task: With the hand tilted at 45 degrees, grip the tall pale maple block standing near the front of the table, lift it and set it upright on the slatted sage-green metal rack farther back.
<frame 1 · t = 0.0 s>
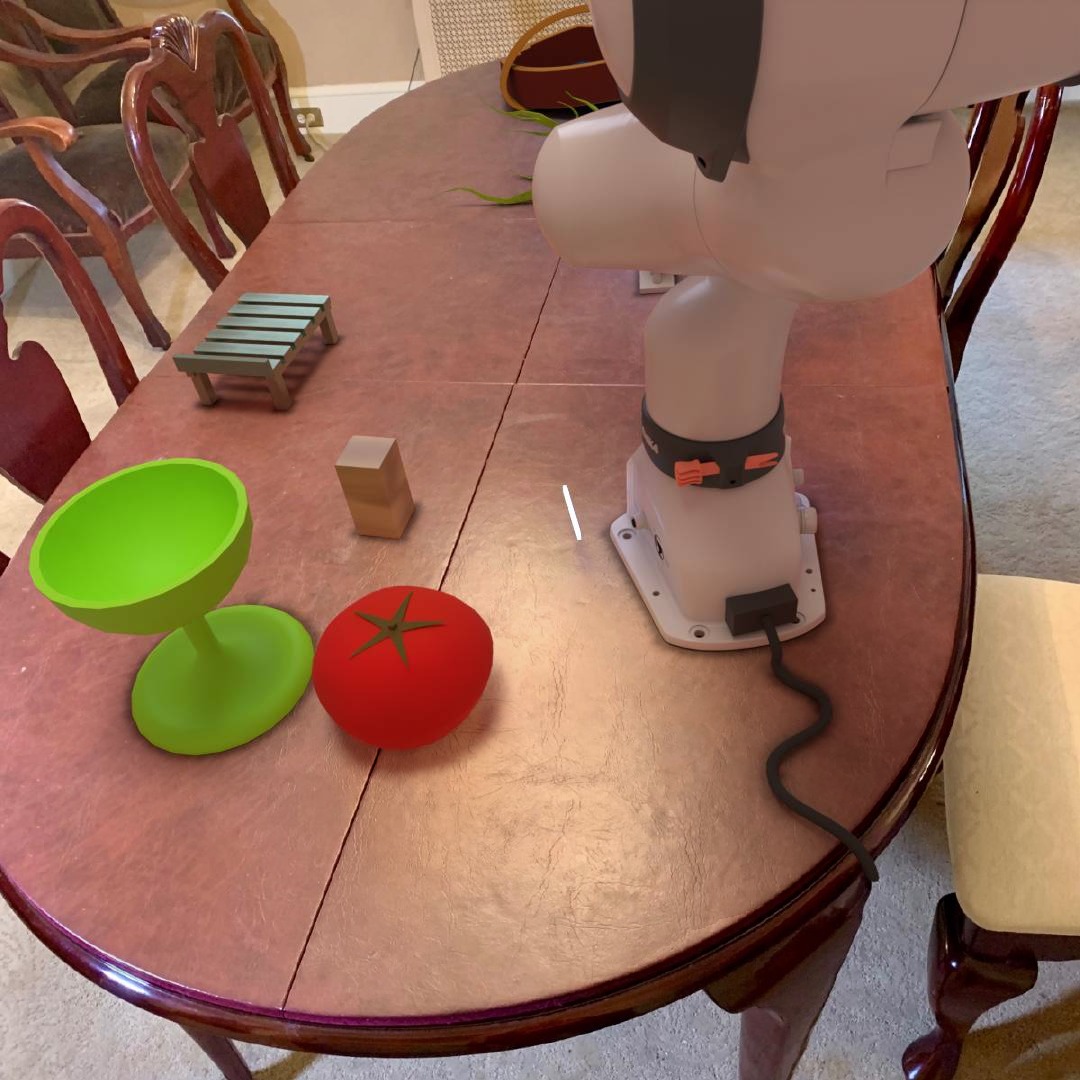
test tube rack: (655, 247, 128), on the table
decorative plant: (546, 199, 143), on the table
decorative basket: (594, 95, 171), on the table
rack: (273, 370, 116), on the table
wineglass: (224, 677, 82), on the table
block: (386, 521, 94), on the table
tomato: (417, 705, 77), on the table
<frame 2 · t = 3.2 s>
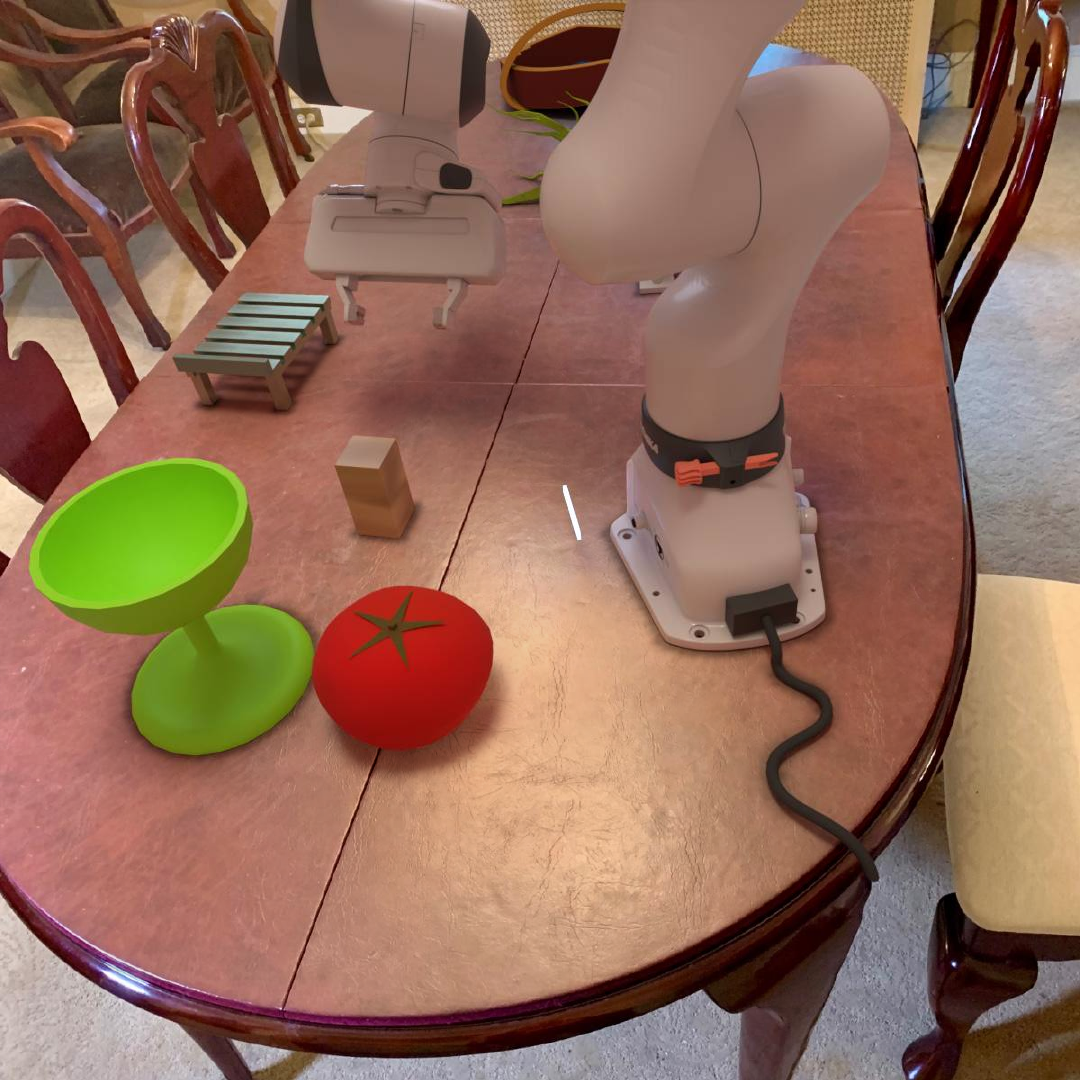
hand: (397, 326, 92), 15 cm above the table, tool tilted 45°, fingers open, 8 cm apart
nothing on the table moved.
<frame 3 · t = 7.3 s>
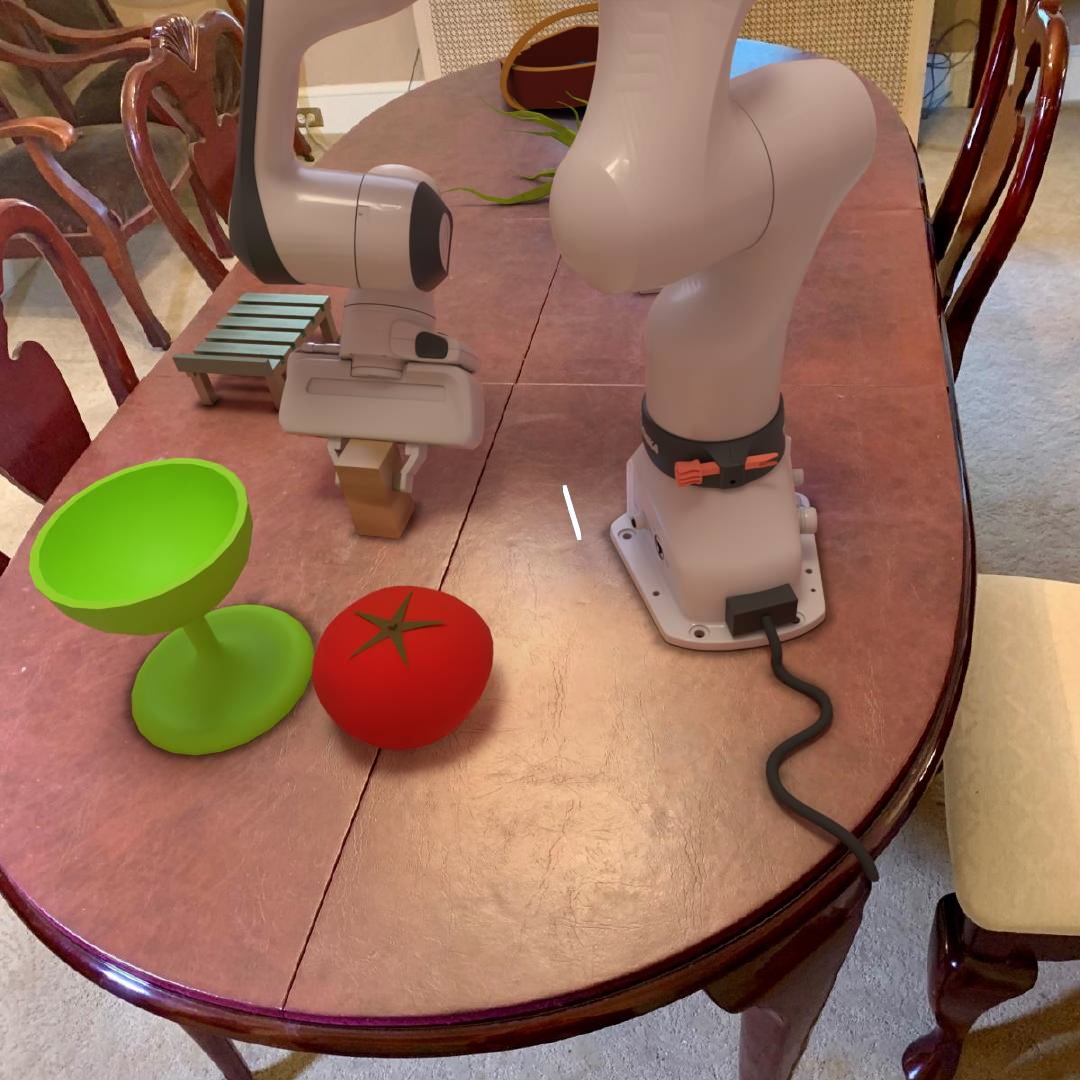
hand: (373, 489, 90), 5 cm above the table, tool tilted 45°, fingers closed on block, 4 cm apart
block: (386, 521, 94), on the table, touching gripper
everything else where it was.
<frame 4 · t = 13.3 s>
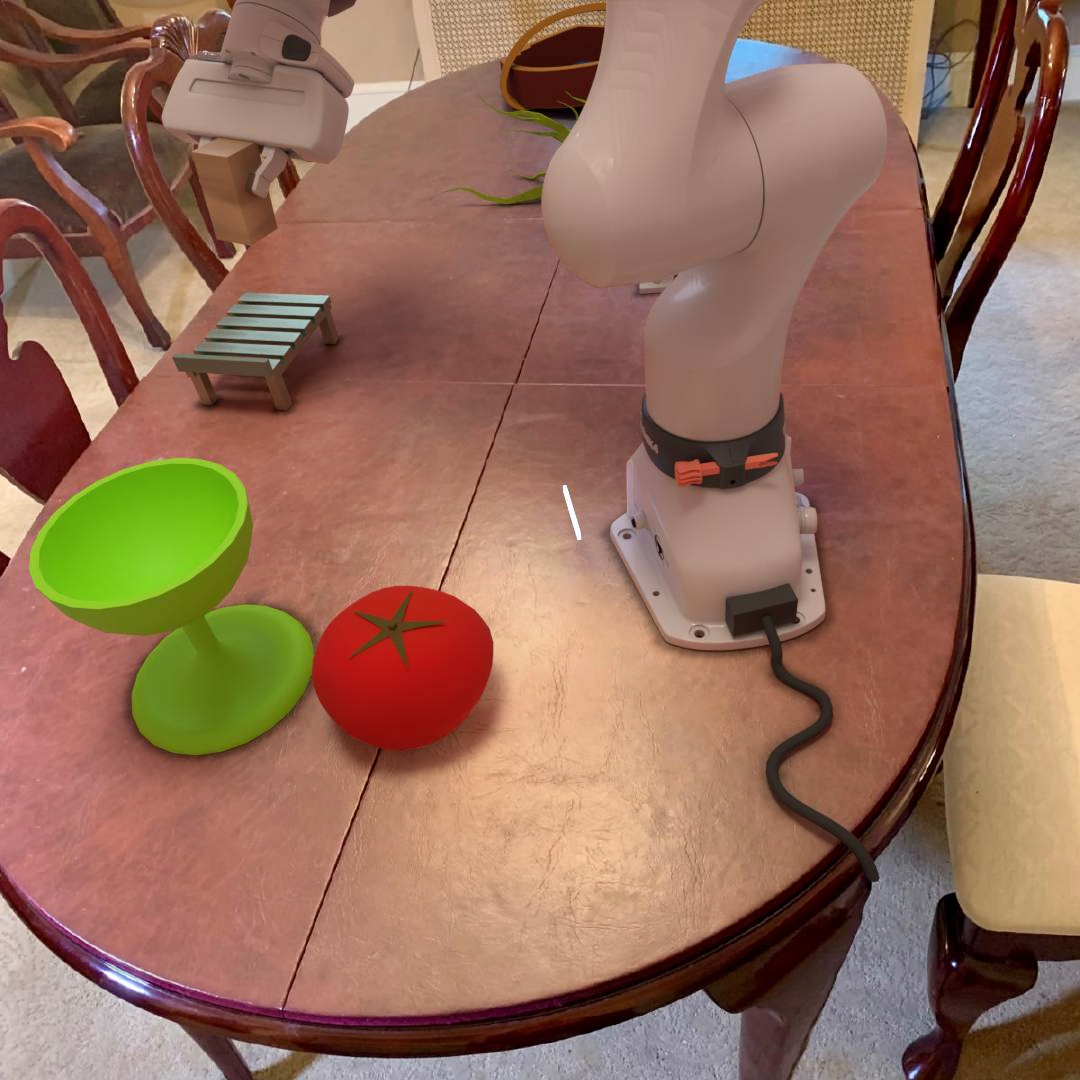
hand: (232, 191, 95), 25 cm above the table, tool tilted 50°, fingers closed on block, 4 cm apart
block: (247, 233, 98), point 20 cm above the table, touching gripper
everything else where it was.
when the fingers open (11 cm above the table, at t = 19.8 s): block stays where it is, resting on rack.
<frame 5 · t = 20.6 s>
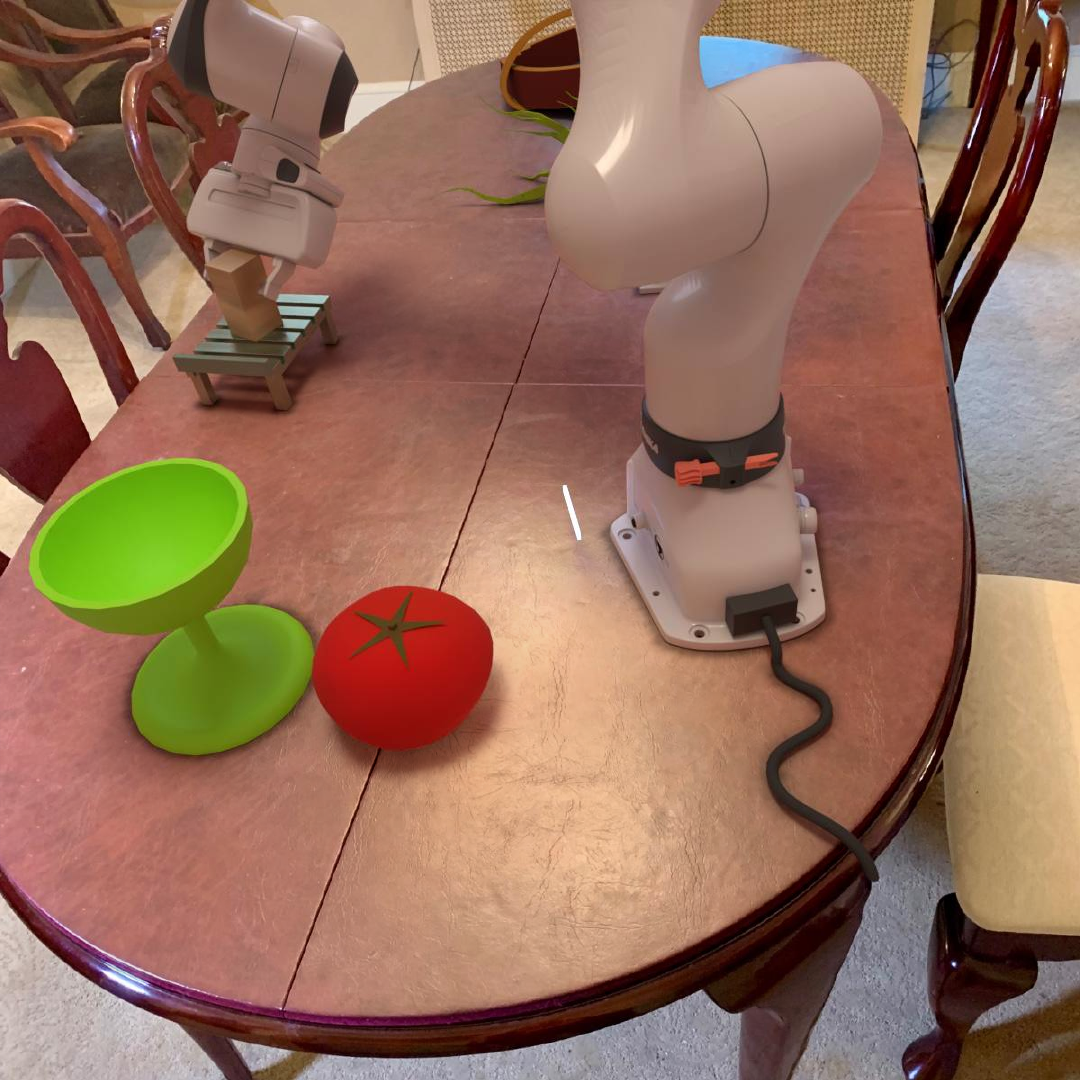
hand: (238, 289, 108), 11 cm above the table, tool tilted 45°, fingers open, 8 cm apart
block: (257, 328, 112), point 6 cm above the table, touching rack
everything else where it was.
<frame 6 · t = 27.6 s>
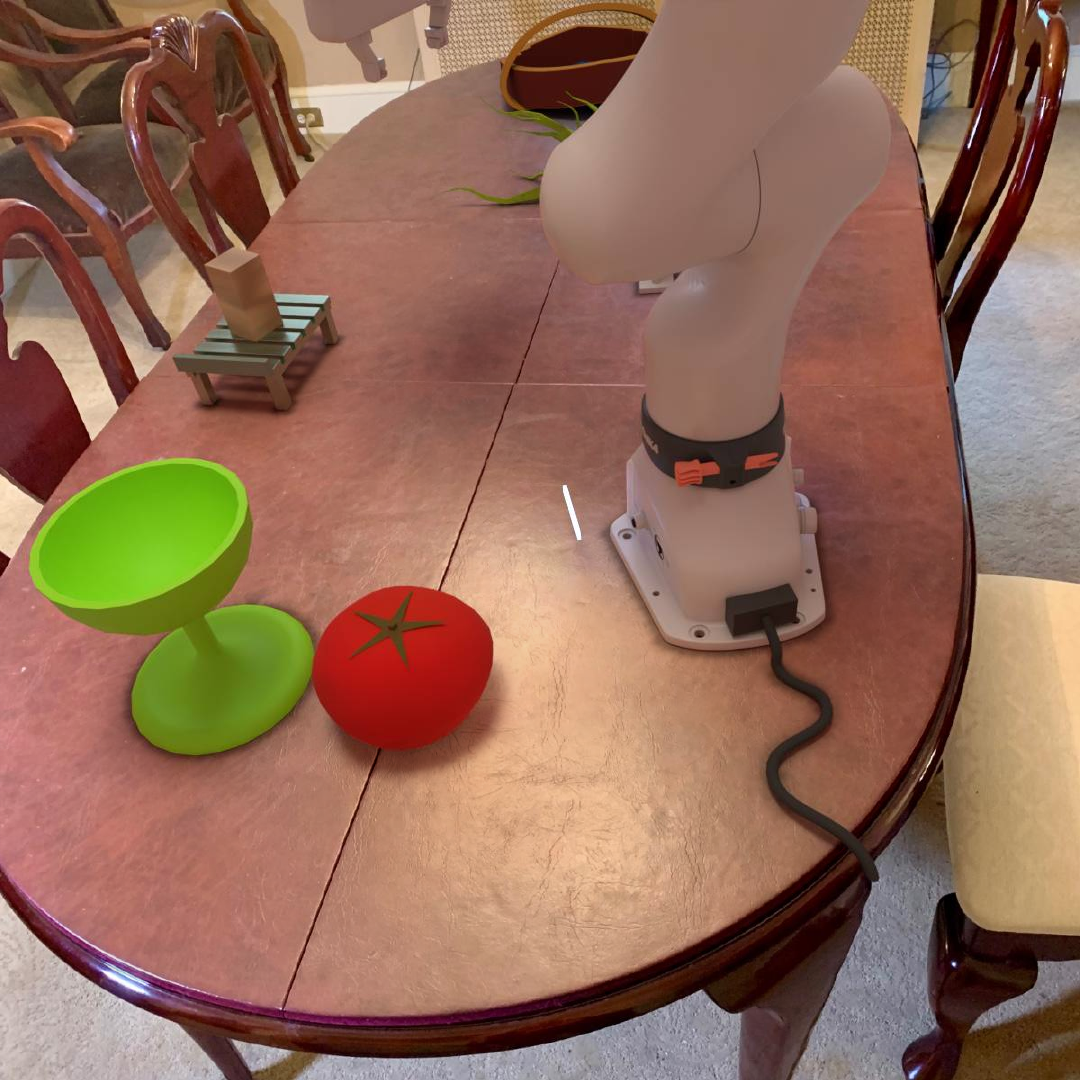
hand: (408, 62, 92), 33 cm above the table, tool pointing down, fingers open, 8 cm apart
nothing on the table moved.
at the end: block inside the target area on the rack (0.0 cm from its centre), point 6.0 cm above the rack's base; block tilted 0°; the gripper is holding nothing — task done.
